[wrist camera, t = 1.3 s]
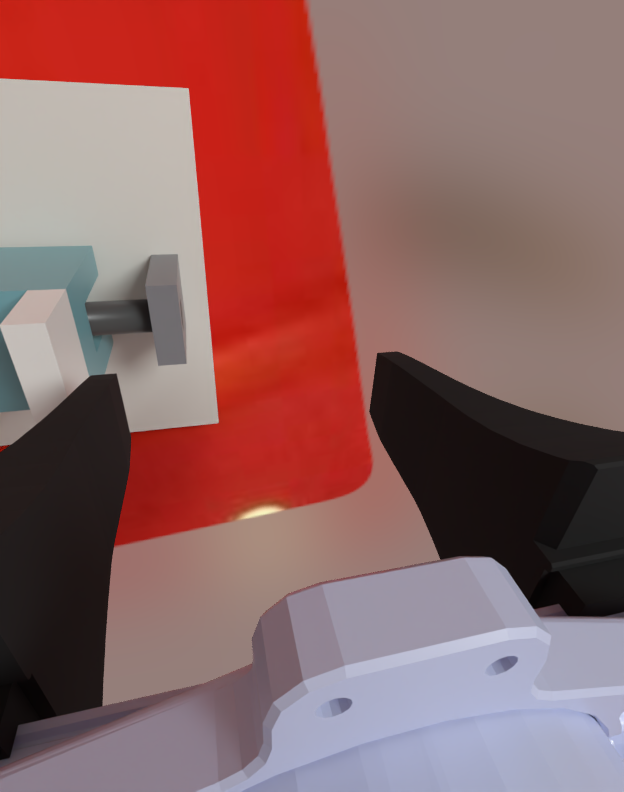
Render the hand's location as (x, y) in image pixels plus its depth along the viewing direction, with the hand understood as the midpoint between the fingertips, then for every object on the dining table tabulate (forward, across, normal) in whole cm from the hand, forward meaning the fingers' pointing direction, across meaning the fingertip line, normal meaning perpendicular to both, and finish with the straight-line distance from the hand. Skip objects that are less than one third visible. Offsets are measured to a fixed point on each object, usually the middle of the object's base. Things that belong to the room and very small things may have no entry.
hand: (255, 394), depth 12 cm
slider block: (+8, +7, 0) cm, 11 cm away
